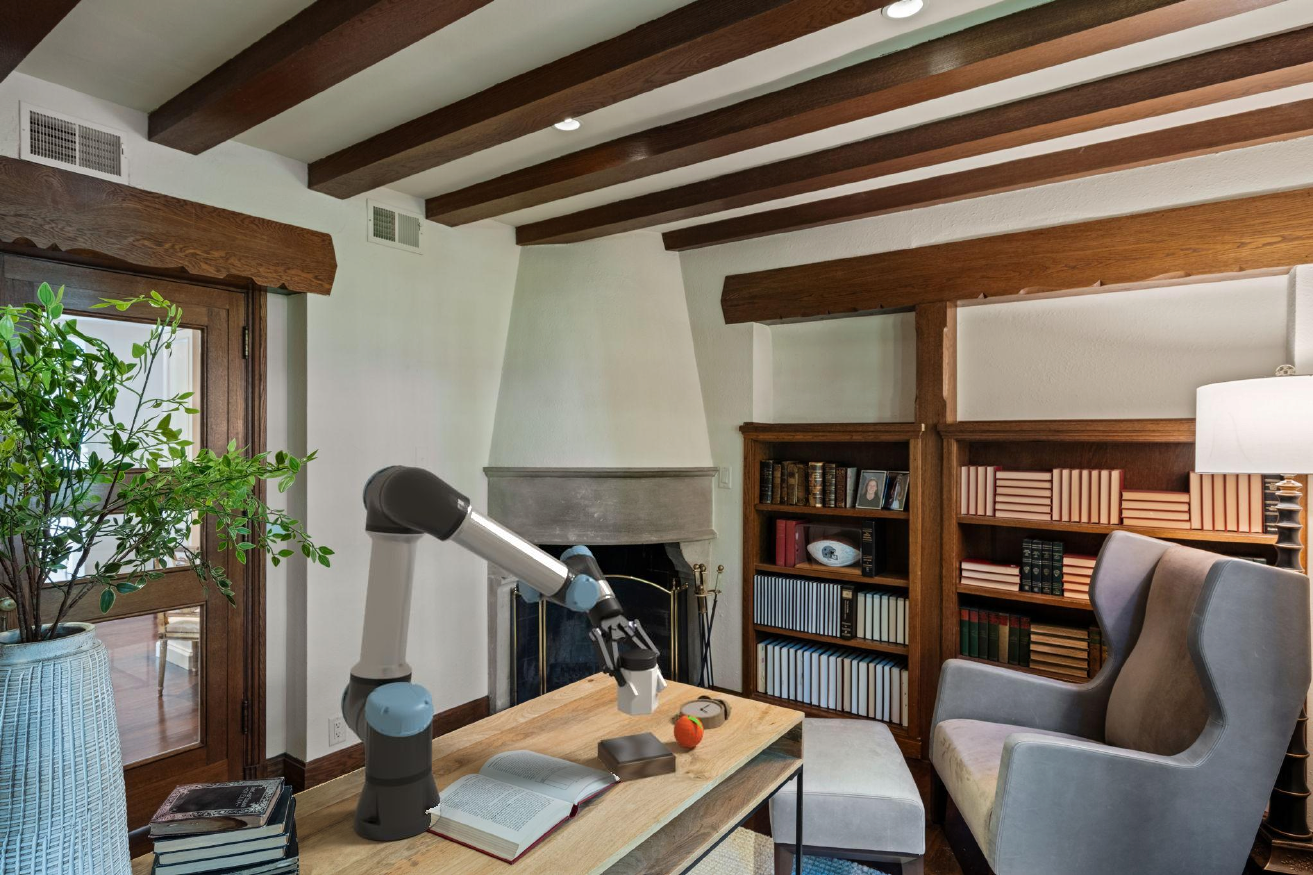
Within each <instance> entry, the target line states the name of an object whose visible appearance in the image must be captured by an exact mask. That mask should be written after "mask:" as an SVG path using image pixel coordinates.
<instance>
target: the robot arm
mask: <svg viewBox="0 0 1313 875" xmlns="http://www.w3.org/2000/svg"><path fill="white" fill-rule="evenodd" d="M362 503H363V506H364V509H365V510H366V518H365V528H364V531H365V533H366V535H368V536H369V538H371V547H370V548H371V550H370V559H369V566H368V567H369V569H368V578H367V587H366V596H365V607H364V615H363V616H364V617H363V626H362V635H361V636H362V637H361V646H360V656H359V660H358V662H356V664H355V665H353V666H352V667H351V668H350V672H349V682H348V683H347V685H345V688H344V690H343V692H342V695H341V698H340V699H341V700H340V709H341V714H342V717H343V719H344V722H345V723H346V725H347V726H348V728H349V729H350V730H351V731H352V732H353V733H354V734H355V735H356V737H358V739H359V740H360V741H361V742H362V743H363V745H364V748H365V751H364V752H365V754H364V755H365V756H364V759H365V761H364V762H365V763H364V766H365V767H364V771H365V773H364V784H363V787H362V790H361V793H360V795H359V798H358V801H357V805H356V806H355V807H356V808H355V810H354V817H353V827H354V831H355V832H356V834H358V835H359V836H360V837H363V838H365V839H368V840H372V841H397V840H401V839H402V840H404V839H407V838H410V837H414V836H417V835H419V834H423V833H424V832H426V831H428V830H430V828H429V826H430V823H431V813H428V814H426V813H425V812H426V810H429V809H430V808H434V807H436V806H438V804H439V803H440V799H441V797H440V793H439V790H438V788H437V783H436V781H435V779H434V775H433V730H434V729H433V727H434V726H433V724H434V723H433V722H434V720H433V719H434V710H435V709H434V704H433V697H432V694H431V692H430V691H429V690H428V689H427V688H426V687H424V686H423V685H420V684H418V683H415V684H414V683H413V684H412V677H413V676H412V675H413V668H412V666H411V665H410V664H409V663H408V662H407V661H406V656H407V646H408V645H407V644H408V637H409V634H408V633H409V628H410V615H411V606H412V597H413V596H412V594H413V586H414V585H413V584H414V575H415V574H414V573H415V564H416V556H417V555H416V554H417V545H418V542H419V540H421V539H422V538H423V537H424V536H426V534H427V535H430V536H432V537H434V538H436V539H437V540H440V541H441V542H446V541H451V542H453V543H455V544H456V545H458V546H460V547H462V548H463V549H465V550H467V551H469V552H470V553H472V554H474V555H476V556H478V557H479V558H481V559H483V560H484V561H486V562H488V564H489V563H490V564H491V565H493V566H495V567H496V568H498V569H499V570H501V571H504V572H505V573H507V574H508V575H511V576H512V577H513V578H515V579H517V580H518V589H519V593H520V595H521V598H523V600H524V601H525V602H526V603H535V602H537V603H539V602H541V601H544V600H546V601H548V602H551V603H554V604H557V605H560V606H563V607H565V608H568V609H570V610H571V611H573V612H582V613H584V612H586V613H587V617H588V619H589V620H590V622H591V625H592V627H593V628H592V629H591V630H590V632H589V633H588V635H587V638H588V640H589V641H590V643H591V644H592V646H593V649H594V651H595V654H596V658H597V660H598V663H599V667H600V669H601V672H602V673H603V674H604V675H607V674H608V676H609V677H611V678H614V679H615V681H616V684H617V683H618V685H619V686H620V687H622V688H623V690H624V692H625V694H626V696H627V698H628V700H629V702H632V701H633V700H634V699H635V698H636V697H637V696H638V693H637V691H636V689H635V687H634V685H633V683H632V682H631V681H630V679H629V677H628V675H627V673H626V671H625V669H623V668H621V670H620V662H619V650H618V643H622V644H623V645H624V646H627V647H629V649H635V648H642V649H649V650H652V651H654V652H656V659H657V658H658V657H659V656H660V655H661V654H660V651H659V650H658V649H657V647H656V646H655V645H654V643H653V641H652V640H651V639H650V638H649V636H648V635H647V633H646V632H645V630H644V629H643V627H642V626H641V623H640V621H639V619H636V618H635V619H634V621H629V620H627V618H625V616H624V610H623V608H622V606H621V604H620V603H619V601H618V599H617V598H616V595H615V593H614V592H613V589H612V588H611V587H610V586H611V585H609V583H608V581H607V579H606V577H605V575H604V573H603V572H602V570H601V567H599V565H598V562H597V559H596V558H595V557H594V556H593V553H592V551H590V550H589V548H588V547H587V546H585V545H583V544H582V545H580V544H579V545H574V546H572V547H571V548H568V549H566V550H565V551H563V553H562V554H561V556H560V557H559V560H558V559H557V558H555V557H554V556H552V555H551V554H549V553H547V552H546V551H544V550H542V549H541V548H540V547H539V546H536V545H535V544H533V543H531V542H530V541H528V540H526V538H524V537H522V536H520V535H519V534H517V533H516V532H514V531H513V530H510V528H508V527H506V526H504V525H502V524H501V523H499V522H498V521H496V520H494V519H493V518H491V517H490V516H488V515H487V514H485V513H483V512H481V511H480V510H478V509H476V508H475V507H474V506H472V505H473V504H472V500H471V499H470V498H469V497H467V495H464V494H463V493H461V492H460V491H459V490H457V489H456V488H454V487H453V486H452V485H450V484H448V483H447V482H446V481H444V480H443V479H442V478H440V477H439V476H438V475H436V474H435V473H433V472H431V471H430V470H427V469H425V468H421V467H415V466H414V467H413V466H412V467H411V466H406V465H389V466H386V467H383V468H381V469H379V470H376V471H375V472H374V473H373V474H372V475H371V476H370V477H369V478H368V479H367V481H366V483H365V484H364V487H363V489H362ZM656 664H658V663H657V662H656ZM667 686H668V685H667V682H666V681H665V679H664V677H663V675H662V669H660V666H659V665H658V694H661V693H662V692H663V691H664V690H665V689H666V688H667Z"/></svg>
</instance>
